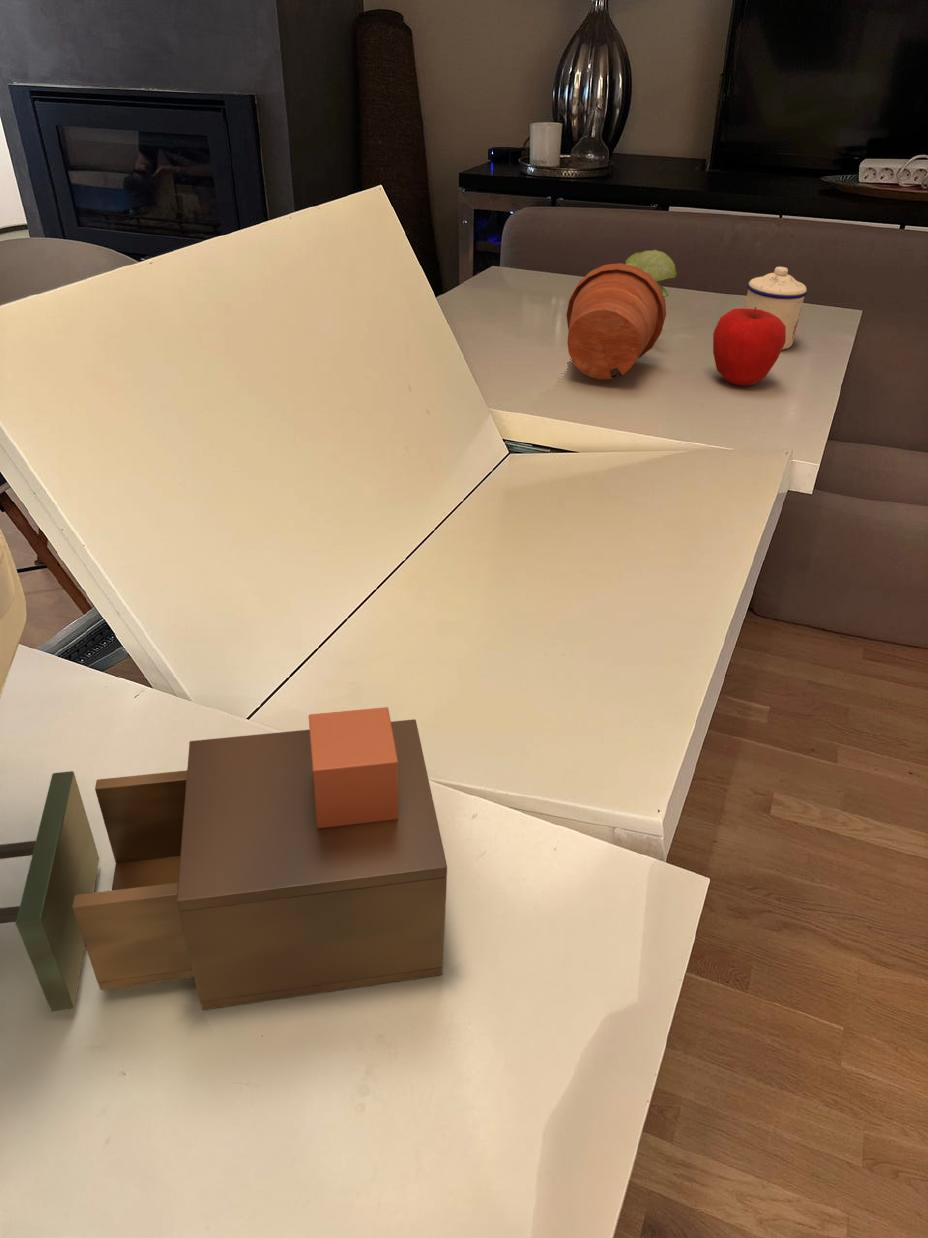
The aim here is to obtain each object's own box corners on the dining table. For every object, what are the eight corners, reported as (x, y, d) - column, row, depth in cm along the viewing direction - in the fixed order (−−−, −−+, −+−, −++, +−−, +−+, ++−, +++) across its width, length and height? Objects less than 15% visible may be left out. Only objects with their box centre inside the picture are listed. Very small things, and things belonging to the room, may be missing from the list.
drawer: (-43, 1026, 48) (-90, 936, 44) (0, 870, 57) (-35, 781, 52) (285, 979, 51) (274, 891, 47) (281, 837, 60) (271, 750, 55)
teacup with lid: (803, 350, 145) (823, 275, 138) (751, 352, 143) (768, 276, 137) (769, 326, 155) (785, 255, 148) (719, 328, 153) (734, 255, 146)
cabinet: (201, 1010, 50) (176, 901, 45) (209, 848, 60) (189, 740, 54) (442, 975, 53) (447, 867, 47) (414, 824, 62) (415, 718, 56)
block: (317, 829, 49) (312, 770, 46) (313, 771, 52) (308, 713, 50) (398, 819, 50) (398, 761, 47) (388, 763, 53) (388, 706, 51)
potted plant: (651, 406, 128) (677, 314, 154) (661, 299, 118) (687, 219, 144) (542, 397, 132) (585, 308, 158) (544, 292, 122) (589, 216, 148)
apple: (693, 381, 132) (707, 305, 126) (723, 365, 138) (738, 292, 132) (756, 400, 127) (775, 322, 121) (784, 382, 133) (803, 307, 127)
